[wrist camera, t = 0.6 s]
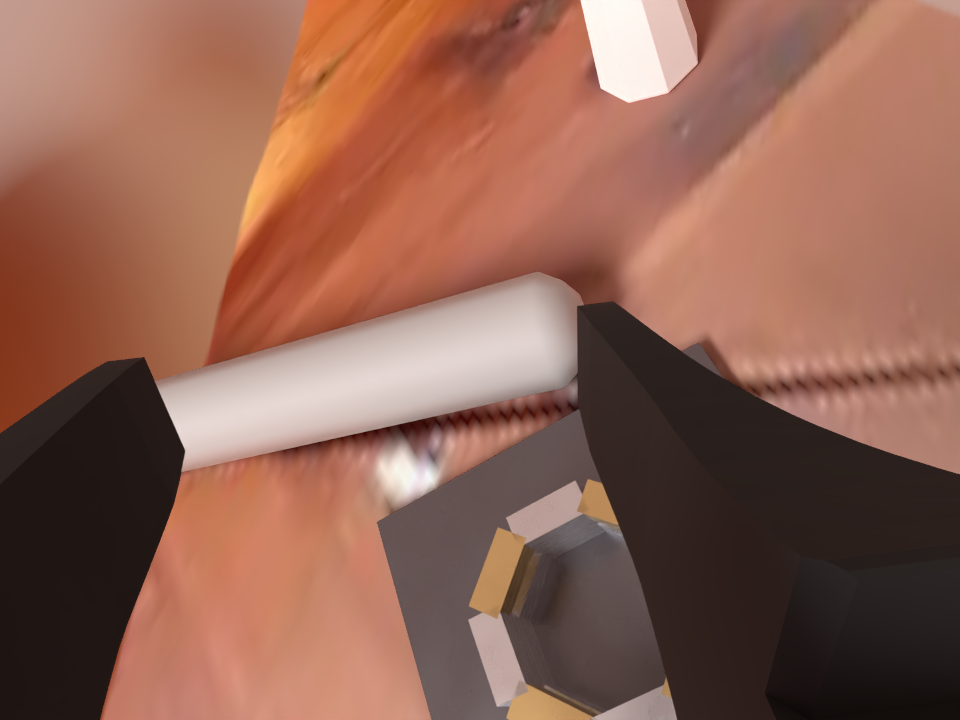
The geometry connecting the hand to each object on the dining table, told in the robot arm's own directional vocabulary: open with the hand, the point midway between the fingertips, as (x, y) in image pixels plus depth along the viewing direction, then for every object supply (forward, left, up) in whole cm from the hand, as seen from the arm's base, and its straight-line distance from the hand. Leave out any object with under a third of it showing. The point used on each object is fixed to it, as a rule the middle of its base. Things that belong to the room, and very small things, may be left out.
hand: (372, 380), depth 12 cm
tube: (+13, +8, -18) cm, 24 cm away
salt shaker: (+22, -13, -18) cm, 31 cm away
